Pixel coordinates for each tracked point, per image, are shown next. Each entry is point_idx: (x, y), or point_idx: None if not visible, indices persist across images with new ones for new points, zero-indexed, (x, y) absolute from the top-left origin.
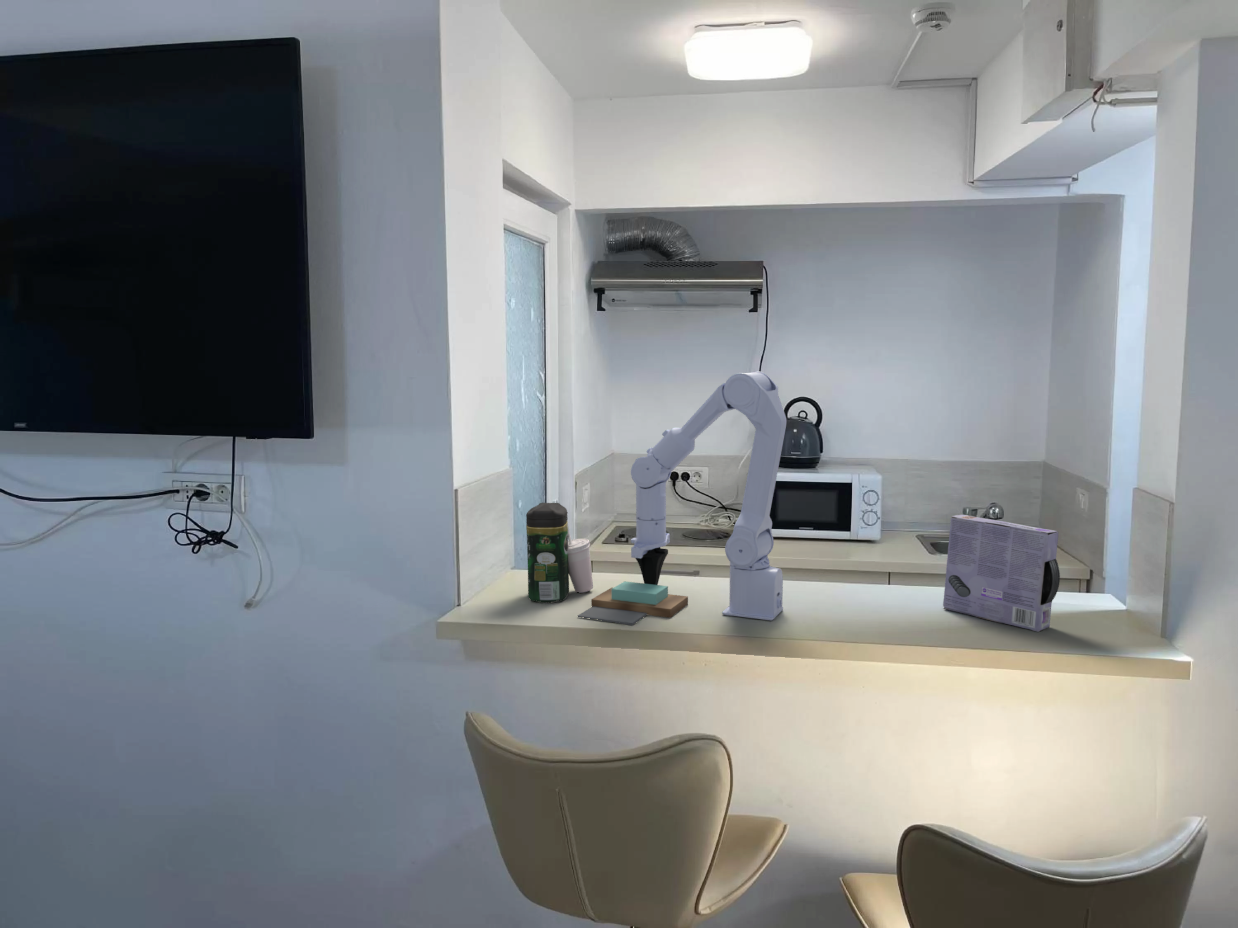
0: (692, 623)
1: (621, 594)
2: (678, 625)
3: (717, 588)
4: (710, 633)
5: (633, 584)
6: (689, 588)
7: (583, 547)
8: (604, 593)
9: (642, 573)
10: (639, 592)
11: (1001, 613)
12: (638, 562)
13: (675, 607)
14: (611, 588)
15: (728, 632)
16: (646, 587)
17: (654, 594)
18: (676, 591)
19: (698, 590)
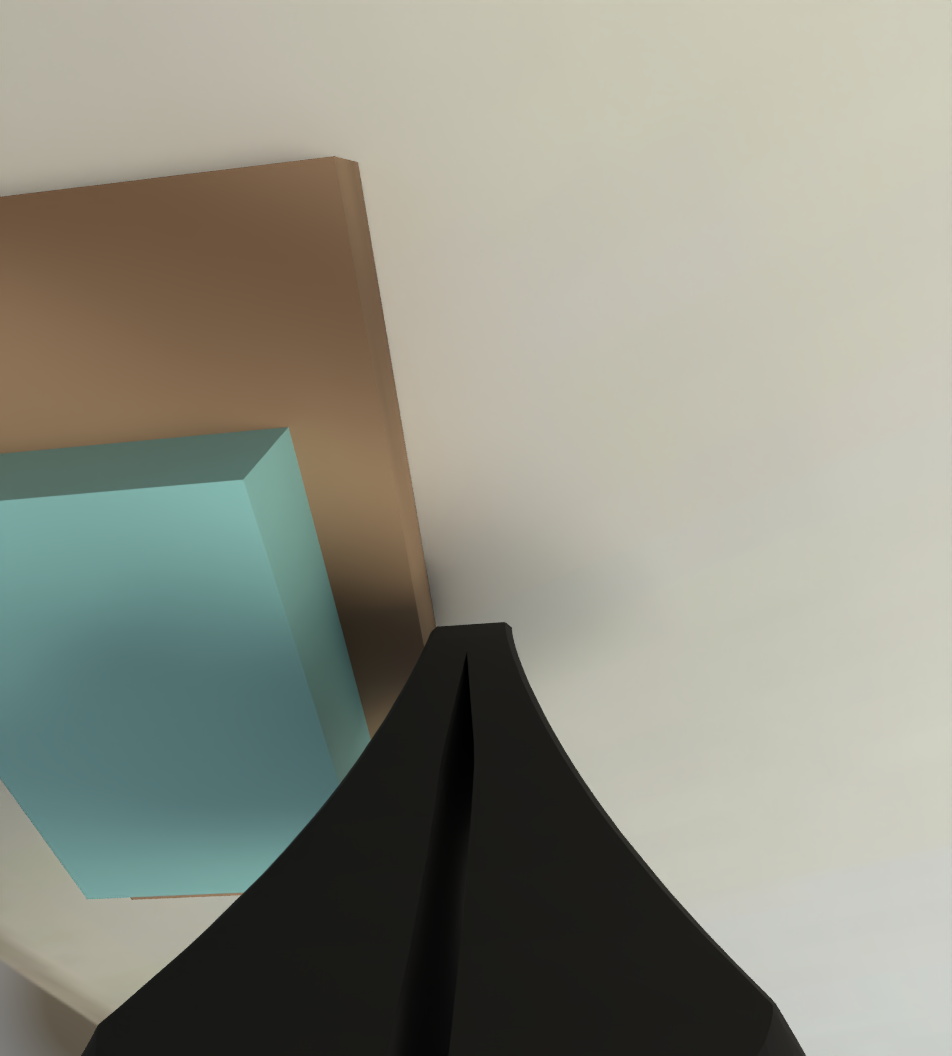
0: (168, 933)
1: None
2: (85, 903)
3: (944, 837)
4: (108, 1006)
5: (197, 639)
6: (906, 706)
7: None
8: (26, 242)
9: (375, 739)
10: (15, 792)
11: None
12: (244, 903)
13: None
14: (288, 187)
15: None
16: (199, 781)
17: (82, 888)
18: (782, 663)
19: (857, 769)
